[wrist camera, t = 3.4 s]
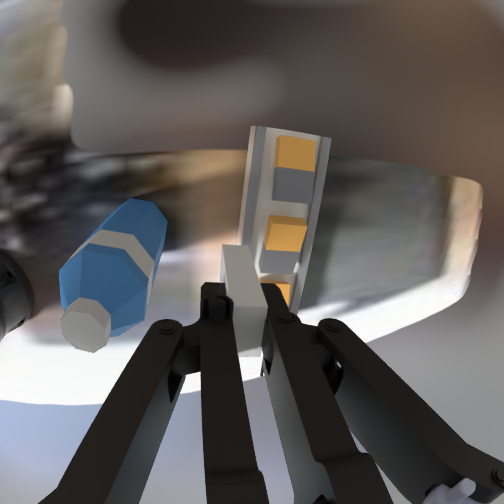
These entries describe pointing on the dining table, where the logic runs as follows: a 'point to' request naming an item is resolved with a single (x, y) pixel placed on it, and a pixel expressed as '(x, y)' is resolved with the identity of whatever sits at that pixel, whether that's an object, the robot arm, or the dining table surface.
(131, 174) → the dining table surface
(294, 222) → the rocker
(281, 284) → the rocker
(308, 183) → the rocker
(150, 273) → the water bottle
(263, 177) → the power strip
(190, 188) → the dining table surface
